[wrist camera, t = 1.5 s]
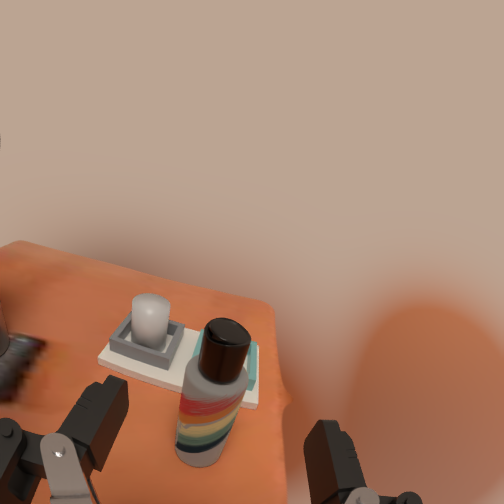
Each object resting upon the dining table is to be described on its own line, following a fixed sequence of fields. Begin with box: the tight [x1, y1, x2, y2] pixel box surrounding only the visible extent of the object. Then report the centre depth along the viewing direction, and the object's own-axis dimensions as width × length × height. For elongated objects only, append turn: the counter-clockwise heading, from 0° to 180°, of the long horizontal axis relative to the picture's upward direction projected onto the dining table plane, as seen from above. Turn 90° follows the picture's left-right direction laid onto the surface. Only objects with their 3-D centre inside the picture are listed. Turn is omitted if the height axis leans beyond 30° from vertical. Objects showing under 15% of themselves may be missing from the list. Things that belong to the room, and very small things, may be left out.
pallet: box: [98, 293, 259, 410], centre depth 41 cm, size 25×15×10 cm, turn 88°
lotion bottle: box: [175, 318, 251, 467], centre depth 23 cm, size 6×6×20 cm
